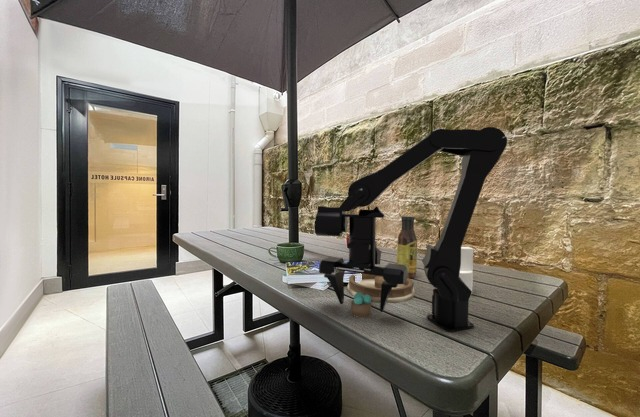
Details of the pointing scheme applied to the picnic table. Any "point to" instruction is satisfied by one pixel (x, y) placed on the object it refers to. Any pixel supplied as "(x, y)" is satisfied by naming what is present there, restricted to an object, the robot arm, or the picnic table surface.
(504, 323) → the picnic table surface
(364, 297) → the toy potted plant
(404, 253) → the sauce bottle
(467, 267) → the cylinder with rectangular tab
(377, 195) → the robot arm
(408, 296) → the ring tray
